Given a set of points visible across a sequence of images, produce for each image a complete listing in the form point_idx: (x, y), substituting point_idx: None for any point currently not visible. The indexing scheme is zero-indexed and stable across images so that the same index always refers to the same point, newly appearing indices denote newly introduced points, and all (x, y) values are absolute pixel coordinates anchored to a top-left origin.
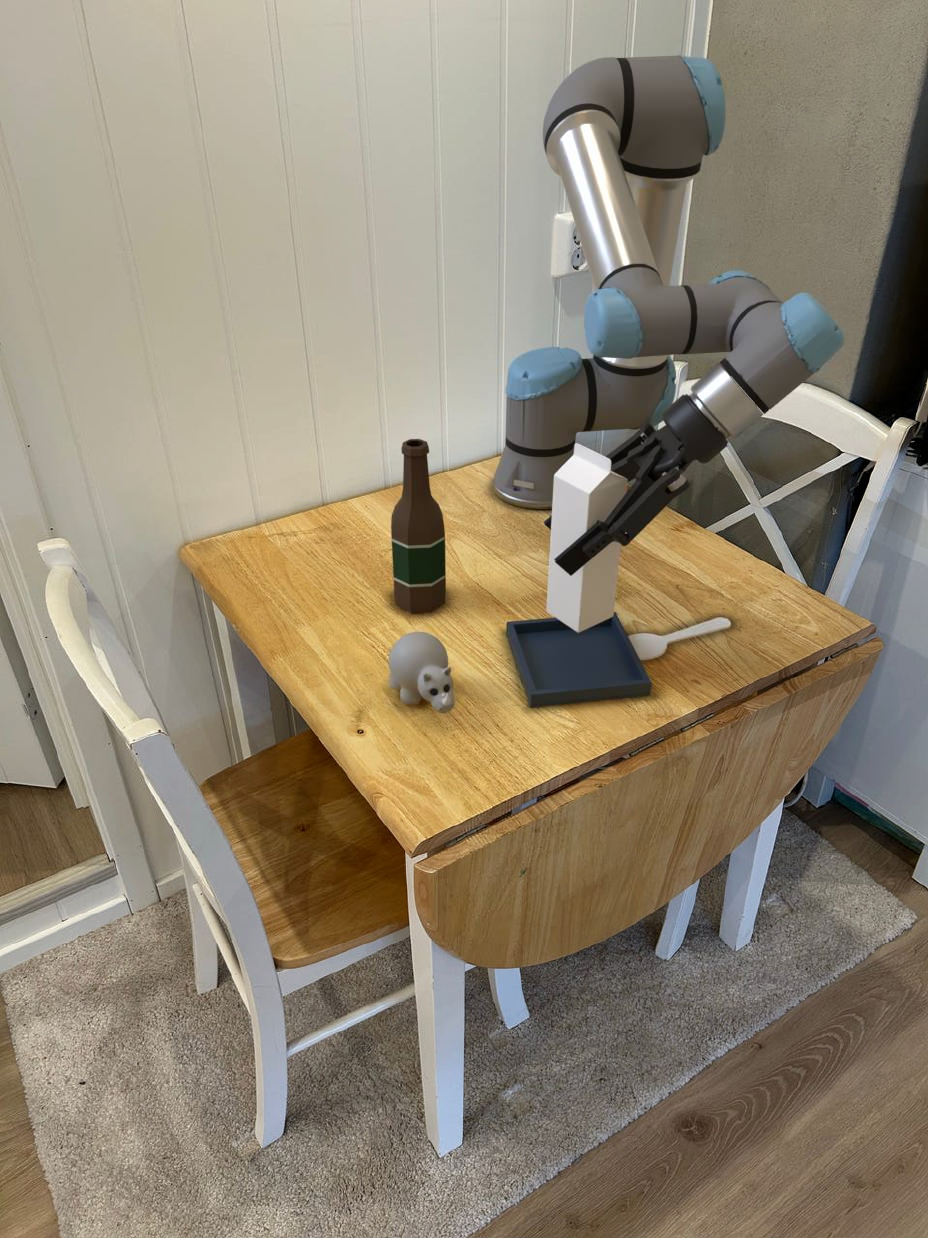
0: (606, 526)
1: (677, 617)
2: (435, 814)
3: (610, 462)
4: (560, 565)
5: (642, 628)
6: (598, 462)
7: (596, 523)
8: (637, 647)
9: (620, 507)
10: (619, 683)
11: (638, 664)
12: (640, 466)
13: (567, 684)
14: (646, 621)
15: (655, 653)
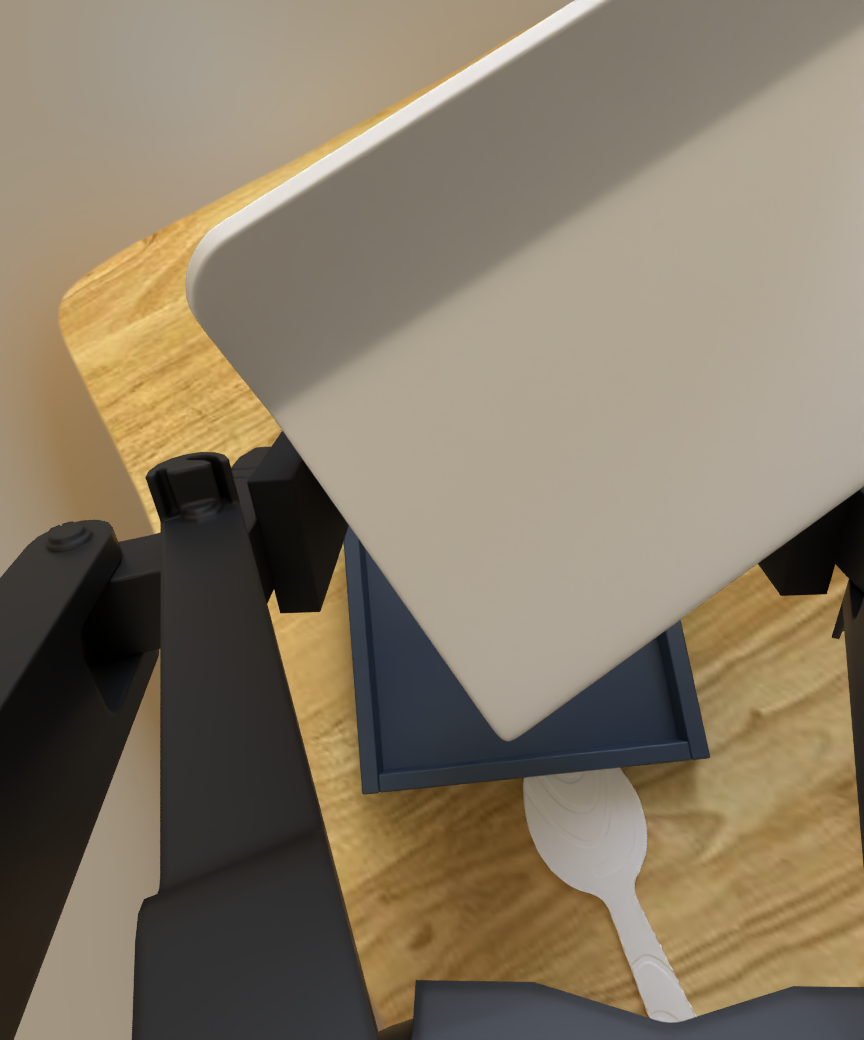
0: (161, 516)
1: (751, 975)
2: (90, 322)
3: (199, 295)
4: None
5: (680, 837)
6: (479, 211)
7: (208, 453)
8: (575, 798)
9: (179, 607)
10: (364, 702)
11: (443, 773)
12: (649, 1019)
13: None
14: (720, 859)
15: (547, 847)
